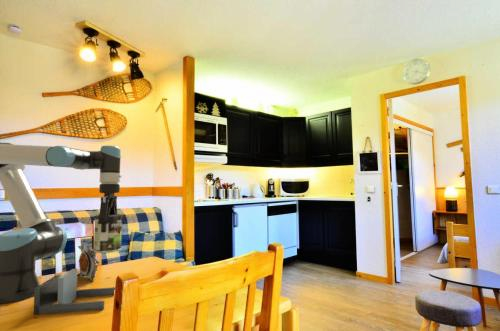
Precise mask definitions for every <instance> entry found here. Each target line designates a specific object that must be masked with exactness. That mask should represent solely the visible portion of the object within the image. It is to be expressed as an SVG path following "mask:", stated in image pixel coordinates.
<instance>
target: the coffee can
mask: <svg viewBox="0 0 500 331" xmlns="http://www.w3.org/2000/svg"><path fill="white" fill-rule="evenodd" d="M98 221H99V214H96V215H94V230H93V232H94V234H93V235H94V236H93V251H94V252H96V254H97V253H98V254H106V253H114V252H115V253H116V252H119V251H121V250H122V236H123V235H122V233H123V232H122V231H123V230H122V229H123V214H118V213H117V214H115V215H109V216H108V223H107V224H108V241H100V224H98Z"/></svg>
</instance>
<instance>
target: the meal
mask: <svg viewBox="0 0 500 331" xmlns="http://www.w3.org/2000/svg"><path fill="white" fill-rule="evenodd" d="M77 247H78V249H79V250H80V251H81V253H80V255H79V257H78V265H79V272H77V277H83V278H84V277H86V278H88V279H89V280H90V282H91V283H92V282H94V280H95V279H96V277H98V274H96V272H97V271H98V268H99V267H98V266H99V259H98V257H97V253H96V252H94V249H93V248H92V247H90V246H88V245H87V246H82V245H77ZM96 264H97V265H96Z"/></svg>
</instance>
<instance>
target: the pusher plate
mask: <svg viewBox="0 0 500 331" xmlns="http://www.w3.org/2000/svg"><path fill="white" fill-rule="evenodd" d="M77 274H78V268H71V269H70V270H69V271H67V272H65V273H64V274H62V275H60V277H59V278H58V300H57V304H65V303H73V302H74V300H76V299H77V298H76V295H77V290H78V288H77V287H78V276H77Z"/></svg>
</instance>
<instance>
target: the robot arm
mask: <svg viewBox="0 0 500 331" xmlns="http://www.w3.org/2000/svg"><path fill="white" fill-rule="evenodd" d="M121 158H122V156H121V148H120V146H115V145H102V146H101V147H100V150H97V151H96V150H91V151H90V150H84V149H77V148H73V147H68V146H65V145H55V146H51V145H50V146H48V145H32V144H31V145H30V144H29V145H27V144H14V143H13V144H12V143H11V142H0V185H1V186H2V188H3V190H4V193H5V194H6V196H7V198H8V200H9V202H10V204H11V206H12V209H13V210H14V213H15V214H16V216H17V218H18V220H19V222H20V224H21V226H22V228H19V229H13V230H8V231H5V232H3V233H1V234H0V304H6V303H8V304H9V303H14V302H17V301H18V302H20V301H22V300H27V299H29V298H32V297H34V290H35V288H36V287H38V286H39V285H41V284H40V281H39V279H38V275H37V273H36V261H39V260H43V259H45V258H50V257H53V256H54V255H57V254H59V253H61V252H62V251H63V250H64V248H65V247H66V244H67V241H68V234H67V232H66V230H65V229H64V228H62V227H60V226H56V224H55V222H54V220H53V219H52V218H48V217H47V216H46V214H45V212H44V210H43V208H42V206H41V204H40V203H39V201H38V199H37V196H36V194H35V193H34V190H33V188H32V186H31V184H30V182H29V180H28V179H27V176H26V175H25V173H24V170H26V169H25V168H26V166H37V167H39V166H40V167H41V166H42V167H54V168H55V167H57V168H70V169H71V168H73V169H75V170H82V171H84V170H99V183H100V184H99V191H98V192H99V194H103V196H101V197H100V208H99V213H98V215H99V221H98V224H100V241H108V224H107V223H108V216H109V215H115V214H118V203H117V202H118V201H117V200H118V195H115V194H119V193H120V184H119V183H121V182H120V181H121V179H120V178H122V175H121Z"/></svg>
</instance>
